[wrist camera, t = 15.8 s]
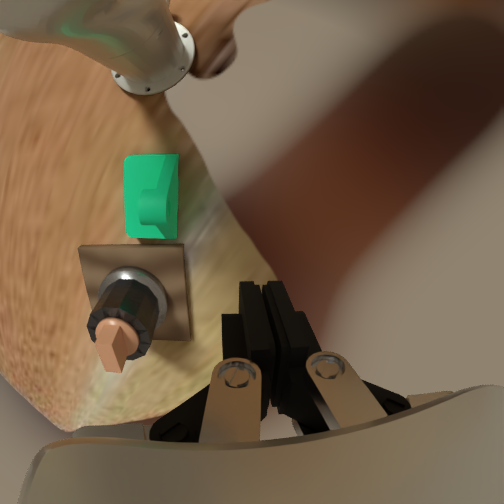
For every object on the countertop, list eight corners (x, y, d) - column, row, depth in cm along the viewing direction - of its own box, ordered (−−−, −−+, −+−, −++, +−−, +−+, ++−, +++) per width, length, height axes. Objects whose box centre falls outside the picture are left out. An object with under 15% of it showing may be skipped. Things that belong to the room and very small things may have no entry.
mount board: (81, 245, 40) (77, 248, 39) (183, 243, 42) (182, 247, 41) (102, 331, 47) (99, 336, 46) (190, 335, 49) (190, 340, 48)
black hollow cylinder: (96, 265, 40) (70, 297, 31) (164, 265, 42) (151, 300, 33) (109, 324, 45) (93, 361, 36) (172, 327, 46) (164, 368, 37)
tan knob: (101, 300, 36) (79, 337, 28) (140, 301, 37) (125, 341, 29) (111, 334, 39) (94, 373, 31) (148, 336, 39) (136, 377, 31)
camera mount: (129, 154, 36) (102, 160, 27) (179, 153, 37) (166, 158, 28) (131, 231, 41) (108, 258, 31) (178, 232, 42) (167, 261, 32)
